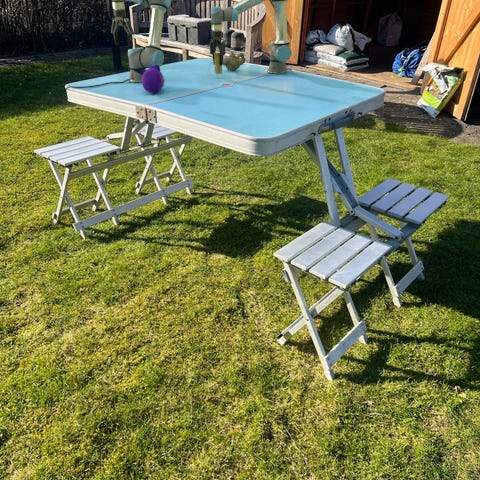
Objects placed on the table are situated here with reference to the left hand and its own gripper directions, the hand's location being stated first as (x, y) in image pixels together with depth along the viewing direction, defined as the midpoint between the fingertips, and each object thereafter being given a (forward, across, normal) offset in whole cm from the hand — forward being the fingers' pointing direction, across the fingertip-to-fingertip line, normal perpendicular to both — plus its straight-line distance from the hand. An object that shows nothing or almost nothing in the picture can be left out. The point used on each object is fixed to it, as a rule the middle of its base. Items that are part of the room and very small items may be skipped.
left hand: (124, 45), depth 296 cm
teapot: (+29, -15, -97) cm, 102 cm away
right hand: (+19, -26, -66) cm, 73 cm away
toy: (+29, -14, -7) cm, 33 cm away
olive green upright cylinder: (+25, -26, -66) cm, 75 cm away
